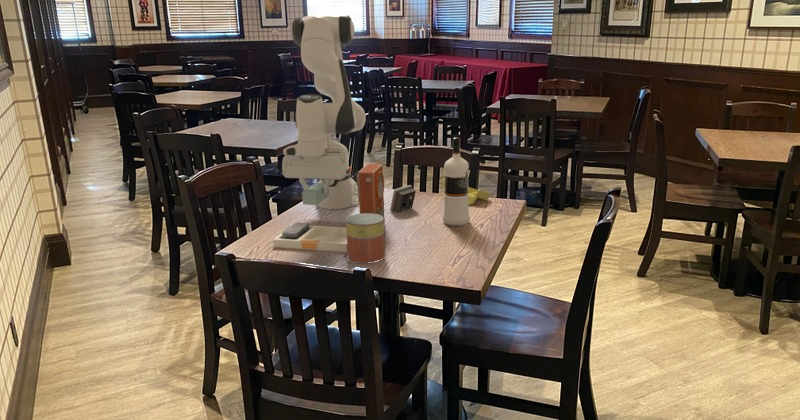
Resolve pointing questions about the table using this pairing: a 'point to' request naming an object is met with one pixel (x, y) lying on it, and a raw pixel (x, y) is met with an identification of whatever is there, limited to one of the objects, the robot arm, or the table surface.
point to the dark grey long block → (296, 231)
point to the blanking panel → (314, 194)
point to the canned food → (365, 237)
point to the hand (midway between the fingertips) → (315, 192)
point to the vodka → (456, 188)
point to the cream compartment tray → (317, 239)
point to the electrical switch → (403, 199)
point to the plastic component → (473, 194)
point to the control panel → (371, 189)
